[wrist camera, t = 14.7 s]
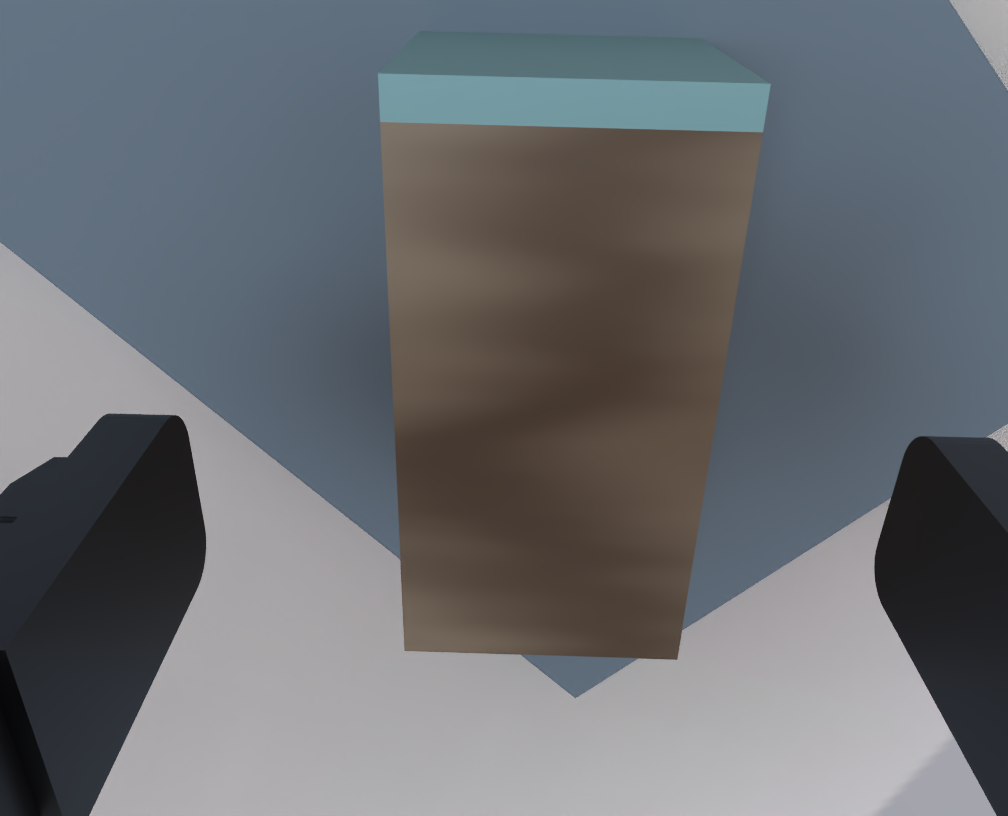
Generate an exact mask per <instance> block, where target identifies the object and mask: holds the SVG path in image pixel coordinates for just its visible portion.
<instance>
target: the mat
mask: <svg viewBox="0 0 1008 816" xmlns="http://www.w3.org/2000/svg"><path fill="white" fill-rule="evenodd" d="M419 31H437V32H475V33H514V34H552V35H591V36H629V37H668V38H702V39H703V40H705V41H706V42H708V43H709V44H711V45H712V46H714V47H715V48H717V49H718V50H720V51H721V52H723V53H725V54H726V55H728V56H729V57H731V58H732V59H734V60H735V61H737V62H738V63H740V64H741V65H743V66H744V67H746V68H747V69H749V70H751V71H752V72H754V73H755V74H757V75H758V76H760V77H761V78H763V79H764V80H766V81H767V82H769V83H770V84H771V86H770V92H769V98H768V105H767V111H766V117H765V123H764V129H763V135H762V141H761V148H760V154H759V160H758V166H757V172H756V178H755V184H754V191H753V197H752V203H751V209H750V215H749V221H748V227H747V234H746V240H745V246H744V252H743V258H742V264H741V270H740V277H739V283H738V289H737V295H736V301H735V307H734V313H733V320H732V326H731V332H730V338H729V344H728V350H727V356H726V363H725V369H724V375H723V381H722V387H721V393H720V399H719V406H718V412H717V418H716V424H715V430H714V436H713V442H712V449H711V455H710V461H709V467H708V473H707V479H706V485H705V492H704V498H703V504H702V510H701V516H700V522H699V528H698V535H697V541H696V547H695V553H694V559H693V565H692V571H691V578H690V584H689V590H688V596H687V602H686V608H685V614H684V620H683V627H682V630H683V629H685V628H687V627H688V626H690V625H691V624H693V623H694V622H696V621H698V620H699V619H701V618H702V617H704V616H705V615H707V614H709V613H710V612H712V611H713V610H715V609H716V608H718V607H720V606H721V605H723V604H724V603H726V602H727V601H729V600H731V599H732V598H734V597H735V596H737V595H738V594H740V593H742V592H743V591H745V590H746V589H748V588H749V587H751V586H753V585H754V584H756V583H757V582H759V581H760V580H762V579H764V578H765V577H767V576H768V575H770V574H771V573H773V572H775V571H776V570H778V569H779V568H781V567H782V566H784V565H786V564H787V563H789V562H790V561H792V560H793V559H795V558H797V557H798V556H800V555H801V554H803V553H804V552H806V551H808V550H809V549H811V548H812V547H814V546H815V545H817V544H819V543H820V542H822V541H823V540H825V539H827V538H828V537H830V536H831V535H833V534H834V533H836V532H838V531H839V530H841V529H842V528H844V527H845V526H847V525H849V524H850V523H852V522H853V521H855V520H856V519H858V518H860V517H861V516H863V515H864V514H866V513H867V512H869V511H871V510H872V509H874V508H875V507H877V506H878V505H880V504H882V503H883V502H885V501H886V500H888V499H889V498H891V497H892V494H893V490H894V487H895V483H896V480H897V476H898V473H899V470H900V466H901V463H902V459H903V456H904V453H905V451H906V449H907V447H908V445H909V444H910V443H911V441H913V440H914V439H915V438H917V437H920V436H939V437H978V438H985V437H987V436H989V435H990V434H992V433H993V432H995V431H996V430H998V429H1000V428H1001V427H1003V426H1004V425H1006V424H1007V423H1008V91H1007V89H1006V88H1005V86H1004V85H1003V83H1002V81H1001V80H1000V78H999V77H998V75H997V74H996V72H995V71H994V69H993V68H992V66H991V64H990V63H989V61H988V60H987V58H986V57H985V55H984V54H983V52H982V51H981V49H980V47H979V46H978V44H977V43H976V41H975V40H974V38H973V37H972V35H971V34H970V32H969V30H968V29H967V27H966V26H965V24H964V23H963V21H962V20H961V18H960V17H959V15H958V13H957V12H956V10H955V9H954V7H953V6H952V4H951V3H950V1H949V0H0V242H1V243H2V244H4V245H5V246H6V247H7V248H9V249H10V250H11V251H12V252H14V253H15V254H16V255H17V256H19V257H20V258H21V259H22V260H24V261H25V262H26V263H27V264H29V265H30V266H31V267H32V268H34V269H35V270H36V271H38V272H39V273H40V274H41V275H43V276H44V277H45V278H46V279H48V280H49V281H50V282H51V283H53V284H54V285H55V286H56V287H58V288H59V289H60V290H61V291H63V292H64V293H65V294H67V295H68V296H69V297H70V298H72V299H73V300H74V301H75V302H77V303H78V304H79V305H80V306H82V307H83V308H84V309H85V310H87V311H88V312H89V313H90V314H92V315H93V316H94V317H96V318H97V319H98V320H99V321H101V322H102V323H103V324H104V325H106V326H107V327H108V328H109V329H111V330H112V331H113V332H114V333H116V334H117V335H118V336H119V337H121V338H122V339H123V340H125V341H126V342H127V343H128V344H130V345H131V346H132V347H133V348H135V349H136V350H137V351H138V352H140V353H141V354H142V355H143V356H145V357H146V358H147V359H148V360H150V361H151V362H152V363H154V364H155V365H156V366H157V367H159V368H160V369H161V370H162V371H164V372H165V373H166V374H167V375H169V376H170V377H171V378H172V379H174V380H175V381H176V382H177V383H179V384H180V385H181V386H183V387H184V388H185V389H186V390H188V391H189V392H190V393H191V394H193V395H194V396H195V397H196V398H198V399H199V400H200V401H201V402H203V403H204V404H205V405H206V406H208V407H209V408H210V409H212V410H213V411H214V412H215V413H217V414H218V415H219V416H220V417H222V418H223V419H224V420H225V421H227V422H228V423H229V424H230V425H232V426H233V427H234V428H235V429H237V430H238V431H239V432H241V433H242V434H243V435H244V436H246V437H247V438H248V439H249V440H251V441H252V442H253V443H254V444H256V445H257V446H258V447H259V448H261V449H262V450H263V451H264V452H266V453H267V454H268V455H270V456H271V457H272V458H273V459H275V460H276V461H277V462H278V463H280V464H281V465H282V466H283V467H285V468H286V469H287V470H288V471H290V472H291V473H292V474H293V475H295V476H296V477H297V478H299V479H300V480H301V481H302V482H304V483H305V484H306V485H307V486H309V487H310V488H311V489H312V490H314V491H315V492H316V493H317V494H319V495H320V496H321V497H322V498H324V499H325V500H326V501H328V502H329V503H330V504H331V505H333V506H334V507H335V508H336V509H338V510H339V511H340V512H341V513H343V514H344V515H345V516H346V517H348V518H349V519H350V520H351V521H353V522H354V523H355V524H357V525H358V526H359V527H360V528H362V529H363V530H364V531H365V532H367V533H368V534H369V535H370V536H372V537H373V538H374V539H375V540H377V541H378V542H379V543H380V544H382V545H383V546H384V547H386V548H387V549H388V550H389V551H391V552H392V553H393V554H394V555H396V556H397V557H398V558H399V559H400V539H399V518H398V496H397V474H396V453H395V431H394V410H393V388H392V367H391V345H390V324H389V302H388V280H387V259H386V237H385V216H384V194H383V173H382V151H381V129H380V108H379V86H378V73H379V72H380V71H381V70H382V69H383V68H384V67H385V66H386V65H387V64H388V63H389V62H390V61H391V60H392V59H393V58H394V57H395V56H396V55H397V54H398V53H399V52H400V51H401V50H402V49H403V48H404V47H405V46H406V45H407V43H408V42H409V41H410V40H411V39H412V38H413V37H414V36H415V35H416V34H417V33H418V32H419ZM522 656H523V657H524V658H525V659H527V660H528V661H529V662H531V663H532V664H533V665H534V666H536V667H537V668H538V669H539V670H541V671H542V672H543V673H544V674H546V675H547V676H548V677H549V678H551V679H552V680H553V681H554V682H556V683H557V684H558V685H560V686H561V687H562V688H563V689H565V690H566V691H567V692H568V693H570V694H571V695H572V696H573V697H575V698H576V697H578V696H580V695H581V694H583V693H584V692H586V691H587V690H589V689H591V688H592V687H594V686H595V685H597V684H598V683H600V682H602V681H603V680H605V679H606V678H608V677H609V676H611V675H613V674H614V673H616V672H617V671H619V670H620V669H622V668H624V667H625V666H627V665H628V664H630V663H631V662H633V661H635V660H636V659H638V658H613V657H582V656H551V655H522Z"/></svg>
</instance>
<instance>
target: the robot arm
mask: <svg viewBox="0 0 1008 816" xmlns="http://www.w3.org/2000/svg"><path fill="white" fill-rule="evenodd" d="M205 554H206V533H205V526H204V520H203V514H202V509H201V503H200V497H199V492H198V486H197V481H196V475H195V469H194V464H193V458H192V452H191V447H190V441H189V436H188V432H187V429H186V426H185V424H184V422H183V420H182V419H181V418H180V417H179V416H176V415H142V414H106V415H104V416H103V417H101V418H100V419H99V420H98V422H97V423H96V424H95V425H94V426H93V428H92V429H91V430H90V431H89V432H88V434H87V435H86V436H85V437H84V438H83V440H82V441H81V442H80V443H79V444H78V445H77V447H76V448H75V449H74V450H73V451H72V453H71V454H70V455H69V456H68V457H54V458H52V459H50V460H49V461H47V462H45V463H44V464H42V465H40V466H39V467H37V468H36V469H34V470H32V471H31V472H29V473H27V474H26V475H24V476H22V477H21V478H19V479H17V480H16V481H14V482H13V483H11V484H10V485H9V486H8V487H7V488H6V489H5V490H4V491H3V492H2V494H1V495H0V816H89V815H90V813H91V810H92V808H93V806H94V804H95V802H96V800H97V798H98V796H99V794H100V792H101V789H102V787H103V785H104V783H105V781H106V779H107V777H108V775H109V773H110V771H111V768H112V766H113V764H114V762H115V760H116V758H117V756H118V754H119V752H120V750H121V747H122V745H123V743H124V741H125V739H126V737H127V735H128V733H129V731H130V729H131V726H132V724H133V722H134V720H135V718H136V716H137V714H138V712H139V710H140V708H141V706H142V703H143V701H144V699H145V697H146V695H147V693H148V691H149V689H150V687H151V685H152V682H153V680H154V678H155V676H156V674H157V672H158V670H159V668H160V666H161V664H162V661H163V659H164V657H165V655H166V653H167V651H168V649H169V647H170V645H171V643H172V640H173V638H174V636H175V634H176V632H177V630H178V628H179V626H180V624H181V622H182V619H183V617H184V615H185V613H186V611H187V609H188V607H189V605H190V603H191V601H192V599H193V596H194V594H195V592H196V590H197V588H198V586H199V583H200V580H201V577H202V573H203V569H204V563H205ZM875 582H876V588H877V592H878V596H879V599H880V601H881V604H882V606H883V608H884V610H885V611H886V613H887V615H888V617H889V619H890V621H891V622H892V624H893V626H894V628H895V630H896V632H897V633H898V635H899V637H900V639H901V641H902V643H903V644H904V646H905V648H906V650H907V652H908V654H909V655H910V657H911V659H912V661H913V663H914V665H915V667H916V668H917V670H918V672H919V674H920V676H921V678H922V679H923V681H924V683H925V685H926V687H927V689H928V690H929V692H930V694H931V696H932V698H933V700H934V701H935V703H936V705H937V707H938V709H939V711H940V712H941V714H942V716H943V718H944V720H945V722H946V723H947V725H948V727H949V729H950V731H951V733H952V734H953V736H954V738H955V740H956V741H957V743H958V745H959V747H960V749H961V751H962V753H963V755H964V756H965V758H966V760H967V762H968V764H969V766H970V767H971V769H972V771H973V773H974V775H975V776H976V778H977V780H978V782H979V784H980V786H981V787H982V789H983V791H984V793H985V795H986V797H987V799H988V800H989V802H990V804H991V806H992V808H993V810H994V811H995V813H996V815H997V816H1008V452H1007V451H1006V450H1005V449H1004V448H1003V447H1002V446H1001V445H1000V444H999V443H998V442H997V441H995V440H993V439H991V438H978V437H939V436H920V437H917V438H915V439H914V440H913V441H911V443H910V444H909V445H908V447H907V449H906V451H905V453H904V456H903V459H902V463H901V466H900V470H899V473H898V476H897V480H896V483H895V487H894V490H893V494H892V497H891V500H890V504H889V507H888V511H887V514H886V518H885V521H884V524H883V528H882V531H881V535H880V538H879V541H878V545H877V549H876V554H875Z"/></svg>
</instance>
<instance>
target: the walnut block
mask: <svg viewBox="0 0 1008 816" xmlns="http://www.w3.org/2000/svg"><path fill="white" fill-rule="evenodd" d="M378 86H379V108H380V129H381V151H382V173H383V194H384V216H385V237H386V259H387V280H388V302H389V324H390V345H391V367H392V388H393V410H394V431H395V453H396V474H397V496H398V518H399V539H400V561H401V582H402V604H403V625H404V647H405V651H427V652H458V653H489V654H520V655H551V656H582V657H613V658H644V659H675V660H677V657H678V651H679V645H680V639H681V633H682V627H683V620H684V614H685V608H686V602H687V596H688V590H689V584H690V578H691V571H692V565H693V559H694V553H695V547H696V541H697V535H698V528H699V522H700V516H701V510H702V504H703V498H704V492H705V485H706V479H707V473H708V467H709V461H710V455H711V449H712V442H713V436H714V430H715V424H716V418H717V412H718V406H719V399H720V393H721V387H722V381H723V375H724V369H725V363H726V356H727V350H728V344H729V338H730V332H731V326H732V320H733V313H734V307H735V301H736V295H737V289H738V283H739V277H740V270H741V264H742V258H743V252H744V246H745V240H746V234H747V227H748V221H749V215H750V209H751V203H752V197H753V191H754V184H755V178H756V172H757V166H758V160H759V154H760V148H761V141H762V135H763V129H764V123H765V117H766V111H767V105H768V98H769V92H770V86H771V84H770V83H769V82H767V81H766V80H764V79H763V78H761V77H760V76H758V75H757V74H755V73H754V72H752V71H751V70H749V69H747V68H746V67H744V66H743V65H741V64H740V63H738V62H737V61H735V60H734V59H732V58H731V57H729V56H728V55H726V54H725V53H723V52H721V51H720V50H718V49H717V48H715V47H714V46H712V45H711V44H709V43H708V42H706V41H705V40H703V39H702V38H668V37H629V36H591V35H552V34H514V33H475V32H437V31H419V32H418V33H417V34H416V35H415V36H414V37H413V38H412V39H411V40H410V41H409V42H408V43H407V45H406V46H405V47H404V48H403V49H402V50H401V51H400V52H399V53H398V54H397V55H396V56H395V57H394V58H393V59H392V60H391V61H390V62H389V63H388V64H387V65H386V66H385V67H384V68H383V69H382V70H381V71H380V72H379V73H378Z"/></svg>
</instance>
